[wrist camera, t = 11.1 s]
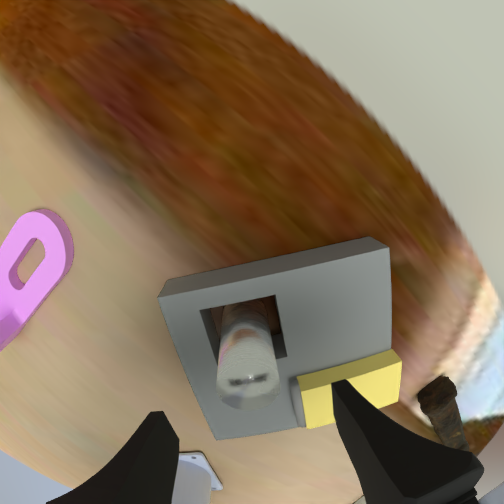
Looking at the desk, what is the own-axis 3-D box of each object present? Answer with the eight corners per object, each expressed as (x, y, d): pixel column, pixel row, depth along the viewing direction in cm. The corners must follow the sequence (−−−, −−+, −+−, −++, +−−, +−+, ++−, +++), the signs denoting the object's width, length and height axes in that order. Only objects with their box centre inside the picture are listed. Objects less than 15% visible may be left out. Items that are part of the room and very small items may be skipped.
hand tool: (410, 392, 25) (430, 422, 20) (442, 369, 24) (465, 396, 20) (435, 455, 29) (448, 476, 25) (458, 439, 29) (472, 460, 24)
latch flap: (295, 416, 20) (298, 431, 18) (287, 378, 19) (291, 393, 17) (389, 388, 20) (397, 401, 18) (392, 348, 19) (402, 361, 17)
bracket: (17, 335, 21) (-23, 374, 14) (-17, 290, 20) (-62, 320, 13) (87, 250, 19) (33, 285, 13) (45, 193, 18) (-18, 207, 11)
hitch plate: (217, 415, 23) (215, 440, 21) (167, 279, 20) (157, 297, 17) (374, 379, 23) (387, 401, 20) (369, 236, 20) (389, 247, 17)
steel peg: (229, 336, 21) (226, 414, 14) (217, 299, 20) (207, 370, 13) (270, 327, 21) (285, 403, 14) (260, 289, 20) (273, 357, 13)
